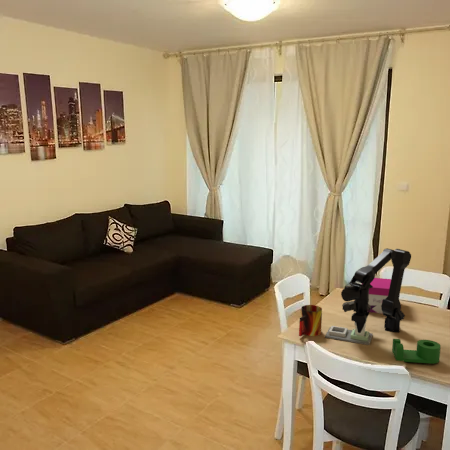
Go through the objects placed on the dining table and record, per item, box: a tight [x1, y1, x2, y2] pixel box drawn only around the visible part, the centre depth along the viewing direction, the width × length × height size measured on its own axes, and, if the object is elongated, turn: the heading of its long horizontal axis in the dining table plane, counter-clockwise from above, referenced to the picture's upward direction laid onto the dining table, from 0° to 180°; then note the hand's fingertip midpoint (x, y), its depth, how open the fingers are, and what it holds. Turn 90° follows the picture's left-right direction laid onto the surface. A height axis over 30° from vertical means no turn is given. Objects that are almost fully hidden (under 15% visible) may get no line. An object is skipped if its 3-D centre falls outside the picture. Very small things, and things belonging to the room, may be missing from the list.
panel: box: [324, 325, 374, 346], centre depth 213 cm, size 20×12×2 cm, turn 66°
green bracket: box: [391, 338, 442, 364], centre depth 191 cm, size 18×9×6 cm, turn 81°
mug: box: [298, 304, 323, 337], centre depth 215 cm, size 10×14×12 cm
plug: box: [354, 321, 367, 336], centre depth 210 cm, size 5×4×8 cm
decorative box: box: [368, 277, 400, 315], centre depth 247 cm, size 19×19×15 cm
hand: (360, 330), depth 210 cm, fingers open, 6 cm apart
